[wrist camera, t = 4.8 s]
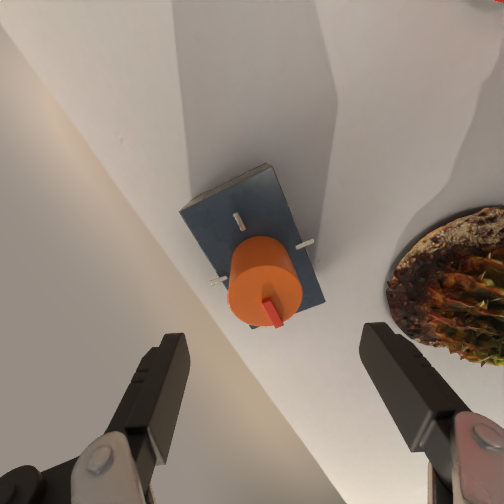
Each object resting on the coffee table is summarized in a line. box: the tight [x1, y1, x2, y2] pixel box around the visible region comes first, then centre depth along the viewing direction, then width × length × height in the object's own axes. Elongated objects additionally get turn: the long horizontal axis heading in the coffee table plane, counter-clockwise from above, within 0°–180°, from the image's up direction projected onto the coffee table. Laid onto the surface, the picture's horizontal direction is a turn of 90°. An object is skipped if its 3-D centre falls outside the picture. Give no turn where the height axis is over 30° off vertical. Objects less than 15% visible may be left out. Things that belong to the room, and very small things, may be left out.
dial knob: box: [228, 236, 303, 328], centre depth 15 cm, size 4×4×5 cm
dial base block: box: [179, 163, 326, 329], centre depth 19 cm, size 12×9×4 cm
